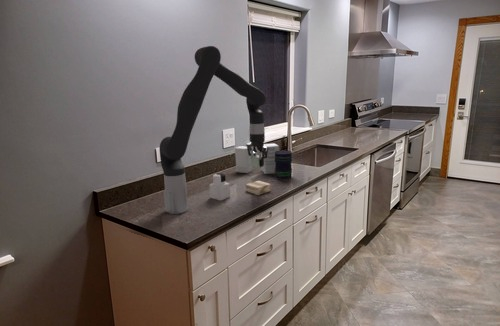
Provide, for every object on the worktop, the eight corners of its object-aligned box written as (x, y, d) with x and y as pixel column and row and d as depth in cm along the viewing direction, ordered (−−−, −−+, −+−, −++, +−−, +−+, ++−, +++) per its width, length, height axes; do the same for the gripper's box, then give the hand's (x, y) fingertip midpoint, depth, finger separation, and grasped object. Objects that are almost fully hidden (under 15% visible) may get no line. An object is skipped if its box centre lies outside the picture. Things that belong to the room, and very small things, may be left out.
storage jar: (291, 174, 209) (291, 150, 206) (292, 179, 200) (292, 153, 196) (275, 174, 210) (274, 150, 207) (274, 179, 201) (274, 154, 197)
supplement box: (279, 173, 214) (279, 145, 210) (264, 174, 212) (264, 146, 208) (275, 169, 223) (275, 143, 219) (261, 170, 221) (260, 144, 217)
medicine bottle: (220, 194, 179) (219, 171, 176) (230, 196, 174) (229, 173, 172) (210, 198, 174) (208, 174, 171) (220, 201, 169) (219, 177, 166)
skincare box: (252, 171, 220) (251, 146, 216) (246, 173, 214) (246, 148, 211) (241, 169, 224) (240, 145, 220) (235, 172, 219) (234, 147, 215)
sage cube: (257, 168, 176) (257, 158, 174) (250, 166, 179) (250, 156, 178) (264, 166, 179) (264, 156, 178) (258, 164, 183) (257, 155, 181)
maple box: (257, 195, 176) (257, 188, 175) (246, 191, 183) (245, 184, 182) (270, 191, 182) (270, 184, 181) (258, 187, 189) (258, 180, 188)
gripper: (241, 131, 178) (243, 164, 182) (261, 134, 167) (262, 169, 171) (253, 130, 182) (253, 161, 187) (272, 132, 172) (273, 166, 176)
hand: (257, 165), depth 179 cm, fingers closed on sage cube, 5 cm apart
